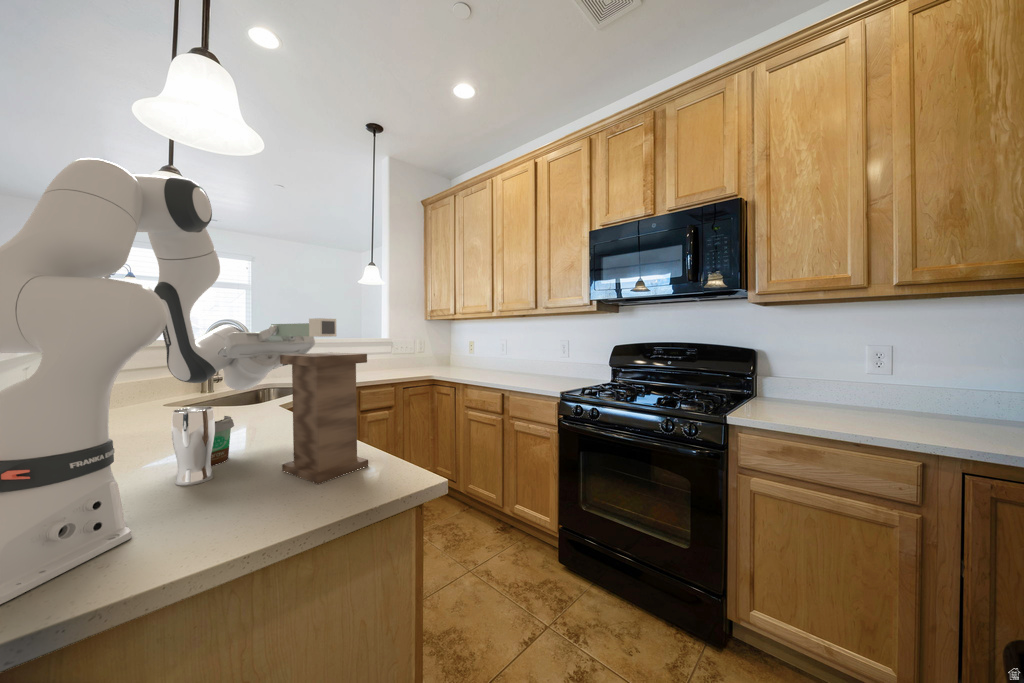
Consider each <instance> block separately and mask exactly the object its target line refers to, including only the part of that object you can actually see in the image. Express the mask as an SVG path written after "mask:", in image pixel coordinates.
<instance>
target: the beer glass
mask: <svg viewBox="0 0 1024 683" xmlns="http://www.w3.org/2000/svg"><path fill="white" fill-rule="evenodd" d="M171 413H172V415H171V428H170V429H171V441H172V446H173V450H174V454H175V458H176V462H177V473H176V478H175V485H176V486H178V487H179V486H180V487H185V486H187V487H188V486H194V485H200V484H202V483H206V482H208V481H210V480H212V479H213V478H214V471H213V468H212V467H213V466H211V452H212V447H213V442H214V435H215V412H214V407H213V406H209V405H208V406H207V405H205V406H204V405H203V406H190V407H183V408H177V409H174V410H173V411H171Z"/></svg>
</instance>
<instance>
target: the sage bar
mask: <svg viewBox="0 0 1024 683" xmlns="http://www.w3.org/2000/svg"><path fill="white" fill-rule="evenodd" d="M270 326H278V329H279V333H278V334H277V335H272V336H309V337H314V338H315V337H316V338H317V337H318V338H319V337H320V338H321V337H322V338H325V337H327V338H329V337H337V318H325V317H324V318H323V317H322V318H321V317H320V318H319V317H317V318H316V317H315V318H308V322H304V323H301V322H300V323H271V324H270Z"/></svg>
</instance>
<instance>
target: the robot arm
mask: <svg viewBox="0 0 1024 683" xmlns="http://www.w3.org/2000/svg"><path fill="white" fill-rule="evenodd" d="M44 190H45V191H44V192H43V193H42V195H41V196H40V199H39V200H38V203H37V204H36V206H35V208H34V209H33V210H32V213H31V214H30V216H29V217H28V219H27V221H26V222H25V223H24V225H23V226H22V228H21V229H20V230H19V231H18V232H16V234H15V235H14V236H13V237H11V239H8V241H6V242H5V243H3V244H2V245H0V354H22V353H23V354H25V353H27V354H29V353H34V354H35V353H38V354H39V353H41V359H40V362H39V365H38V366H37V368H36V370H35V372H34V373H33V374H32V375H31V376H30V377H29V378H25V379H23V380H21V381H17V382H15V383H13V384H11V385H9V386H7V387H4V388H3V389H1V390H0V605H2V604H4V603H6V602H8V601H11V600H13V599H14V598H16V597H18V596H20V595H22V594H24V593H25V592H28V591H29V590H32V589H34V588H36V587H38V586H40V585H42V584H44V583H46V582H48V581H50V580H51V579H52V580H53V578H55V577H57V576H59V575H61V574H64V573H65V572H67V571H70V570H72V569H73V568H76V567H77V566H79V565H81V564H83V563H85V562H87V561H89V560H91V559H93V558H95V557H96V556H99V555H101V554H103V553H105V552H106V551H109V550H111V549H113V548H114V547H116V546H119V545H120V544H122V543H125V542H126V541H128V540H131V538H132V537H133V533H132V530H131V528H129V527H128V525H127V522H126V520H125V516H124V511H123V503H122V498H121V493H120V488H119V484H118V482H117V480H116V479H115V477H114V476H115V475H113V471H112V468H111V465H112V464H113V463H114V462H115V447H114V441H113V439H111V438H110V435H109V434H110V431H109V430H110V429H109V428H110V427H109V423H110V420H109V419H110V402H111V394H112V390H113V386H114V384H115V382H116V380H117V377H118V375H119V374H120V372H121V370H122V369H123V368H124V366H125V365H126V364H127V363H128V362H129V361H130V360H131V359H132V358H133V357H134V356H135V355H136V354H138V353H139V352H141V351H142V350H143V349H146V348H147V347H148V346H150V345H152V344H153V343H155V342H156V341H157V340H158V338H160V337H161V335H162V336H163V337H162V338H163V340H164V344H165V348H166V365H167V369H168V371H169V373H170V374H171V375H172V376H173V377H174V378H175V379H177V380H178V381H180V382H183V383H190V384H202V383H206V382H207V381H208V380H209V379H211V378H212V377H213V376H215V375H216V374H217V373H218V372H220V371H221V370H223V380H224V381H223V382H224V383H225V385H226V386H227V387H228V388H230V389H232V390H235V391H246V390H250V389H253V388H254V387H256V386H257V385H259V384H260V383H261V382H262V381H263V380H264V379H265V378H266V377H267V375H268V374H269V373H270V372H272V371H273V370H277V369H279V368H281V367H284V366H288V365H289V364H280V355H287V354H308V352H310V350H312V349H313V348H314V347H315V345H316V340H315V337H309V336H272V335H277V334H278V333H279V329H278V326H271V325H270V326H269V328H266V329H263V330H262V331H257V332H256V331H254V332H253V331H250V332H249V331H246V332H245V331H244V330H243V329H241V328H238V327H237V326H233V325H227V324H222V325H220V326H218V327H216V328H214V329H211V330H209V331H208V332H205V333H204V334H202V335H201V336H198V337H197V338H195V334H194V331H193V326H192V321H191V312H192V311H191V310H192V309H193V306H195V303H196V302H197V301H198V299H200V297H202V295H203V294H204V293H205V292H206V291H208V290H209V289H210V288H211V287H212V286H213V285H214V284H215V283H216V281H217V280H218V279H219V276H220V274H221V266H220V260H219V257H218V254H217V251H216V248H215V246H214V243H213V241H212V238H211V236H210V234H209V232H208V229H207V227H208V226H209V225H210V223H211V221H212V218H213V209H212V205H211V202H210V198H209V196H208V194H207V192H206V190H205V189H203V187H202V186H200V185H199V184H198V183H197V182H195V181H194V180H192V179H189V178H185V177H180V176H173V175H172V176H169V177H167V176H160V175H153V174H152V175H151V174H137V173H130V172H129V171H128V170H127V169H126V168H123V167H122V166H120V165H119V164H117V163H113V162H111V161H108V160H104V159H100V158H93V157H85V158H79V159H76V160H73V161H72V162H70V163H69V164H68V165H67V166H65V167H64V168H63V169H62V170H61V171H60V172H59V173H57V174H56V176H55V177H54V178H52V180H51V182H50V183H49V184H48V185H47V186H46V189H44ZM137 233H147V235H148V239H149V242H150V246H151V249H152V251H153V253H154V255H155V258H156V261H157V265H158V282H157V283H156V284H157V285H156V286H155V287H154V289H152V288H150V286H147V285H145V284H140V283H136V282H135V283H134V282H129V281H125V280H118V279H113V278H107V277H108V276H110V275H112V274H115V273H116V272H119V270H121V269H122V268H123V267H124V266H125V264H126V263H127V261H128V258H129V255H130V253H131V249H132V247H133V245H134V242H135V238H136V235H137Z"/></svg>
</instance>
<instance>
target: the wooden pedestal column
mask: <svg viewBox="0 0 1024 683" xmlns="http://www.w3.org/2000/svg"><path fill="white" fill-rule="evenodd" d="M366 363H368V354H367V353H360V352H359V353H355V352H354V353H351V352H332V351H331V352H330V351H328V352H313V353H308V352H307V353H306V354H287V355H280V364H289V365H291V372H292V373H291V376H292V377H291V381H292V385H291V386H292V390H291V391H292V430H293V432H292V434H293V435H292V436H293V437H292V438H293V441H292V442H293V460H291V461H288V462H283V463H281V470H282V471H281V472H283V471H285V472H284V473H286V472H288V473H287V474H289V473H290V474H289V475H291V474H293V475H292V476H294V475H296V476H295V477H297V476H298V477H297V478H299V477H301V478H300V479H302V478H303V480H305V479H306V480H305V481H308V480H309V481H308V482H310V481H311V482H310V483H313V482H314V483H313V484H316V483H317V484H316V485H319V483H320V484H323V483H325V481H326V482H328V480H329V481H331V480H330V479H332V480H334V479H336V478H335V477H337V478H339V477H338V476H340V477H342V476H341V475H343V474H346V473H349V472H351V473H353V472H352V471H354V472H356V471H355V470H357V469H360V468H363V467H366V466H368V467H369V459H368V458H364V457H362V456H358V430H357V429H358V427H357V426H358V425H357V424H358V420H357V419H358V418H357V417H358V415H357V411H358V409H357V364H366ZM366 468H367V467H366ZM363 469H364V468H363ZM360 470H361V469H360ZM357 471H358V470H357ZM349 474H350V473H349ZM346 475H347V474H346ZM343 476H344V475H343ZM333 478H334V479H333ZM322 482H323V483H322Z"/></svg>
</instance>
